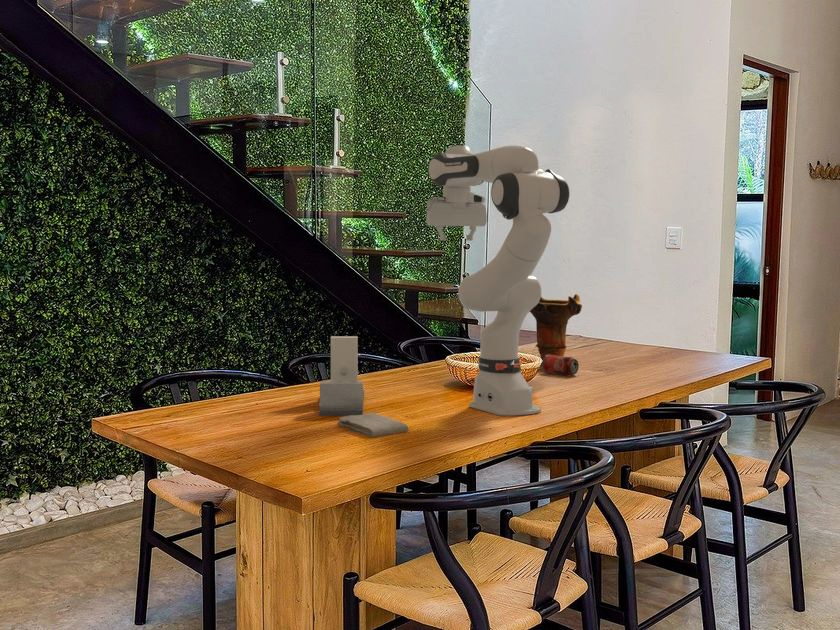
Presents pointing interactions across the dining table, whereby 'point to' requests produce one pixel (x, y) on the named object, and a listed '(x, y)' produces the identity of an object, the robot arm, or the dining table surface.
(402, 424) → the washcloth
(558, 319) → the decorative vase
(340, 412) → the base
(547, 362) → the beverage can
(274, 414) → the dining table surface
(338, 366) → the upright white panel
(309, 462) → the dining table surface
